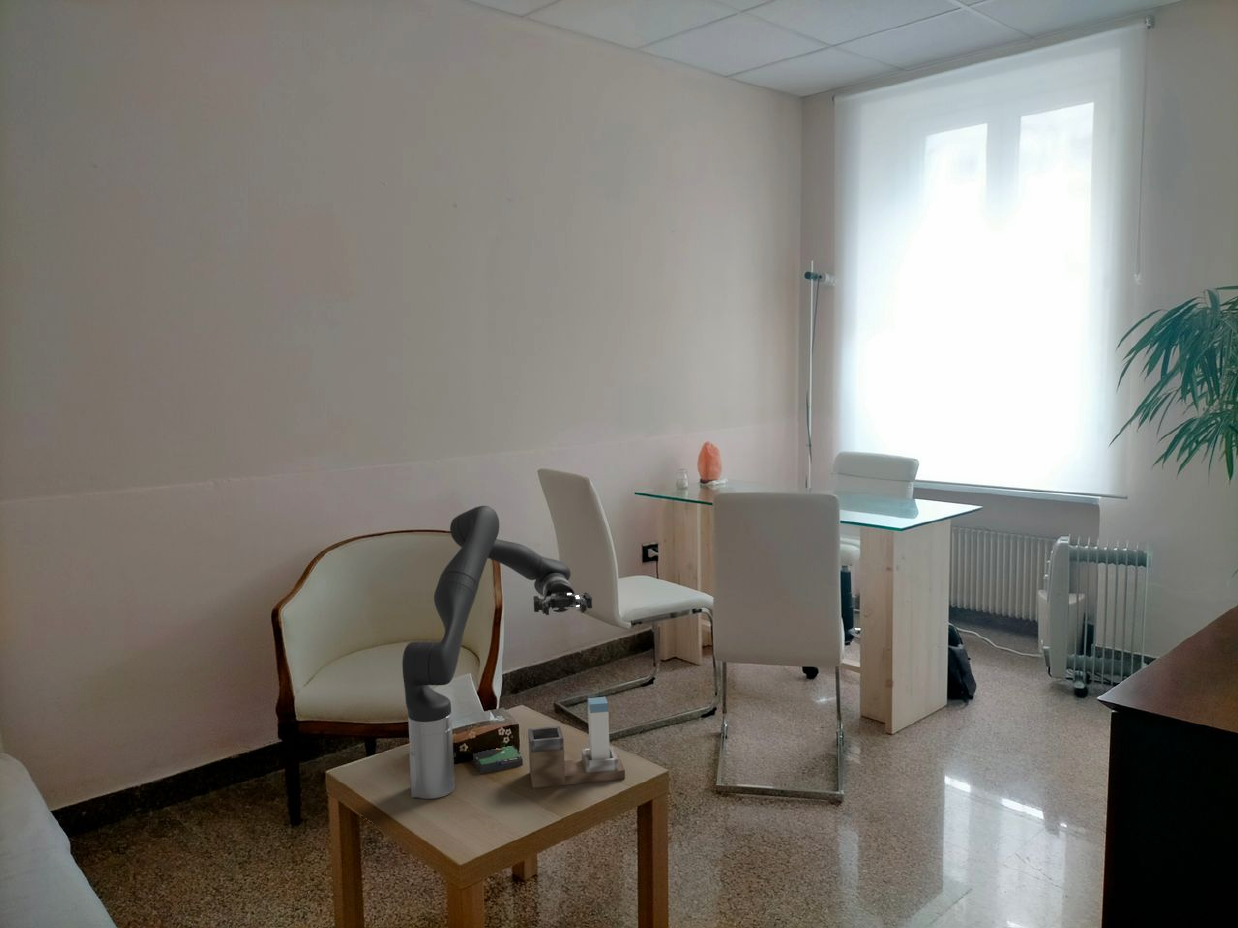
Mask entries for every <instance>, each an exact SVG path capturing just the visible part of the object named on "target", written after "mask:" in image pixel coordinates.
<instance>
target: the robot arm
mask: <svg viewBox="0 0 1238 928" xmlns="http://www.w3.org/2000/svg"><path fill="white" fill-rule="evenodd" d="M449 525H450V526H449V530H450V535H451V538H452V539H453V541H454V542H455V543H456V545H458V546H459V547H460V550H459V551H457V552H456V554H455V555H454V556H453V558H452V559H451V560H450V561H449V562H448V563H447V565H446V566H445V568H444V569H443V571H442V572H441V574H440V577H439V579H438V582H437V585H436V588H435V591H434V595H433V603H434V606H435V610H436V611H437V613H438V615H439V618H440V619H441V622H442V624H443V628H444V634H443V635H444V636H443V638H442V639H441V641H416V640H415V641H411V642H409V643H407V645H406V646H405V648H404V650H403V653H402V664H401V665H402V679H403V687H404V696H405V705H406V709H407V716H408V717H407V719H408V735H409V736H408V737H409V756H408V757H409V771H410V789H411V790H410V791H411V798H419V799H426V800H427V799H428V800H430V799H438V798H439V799H440V798H442V797H446V796H447V795H449V794H450V795H451V793H452V792H454V790H455V788H456V784H455V779H456V778H455V764H454V763H455V760H454V741H453V740H454V739H453V724H452V723H453V720H452V702H451V700H450V699H449V697H447V696H446V695H443V694H441V693H439V692H437V691H435V690H434V689H432V688H431V687H430V686H446V685H448V684H450V682H451V681H452V680H453V678H454V676H455V674H456V673H455V672H456V669H457V665H458V661H459V657H460V652H461V647H462V644H463V643H462V642H463V637H464V633H465V630H466V626H467V623H468V620H469V616H470V614H471V610H472V607H473V605H474V603H475V599H476V596H477V592H478V590H479V589H478V588H479V585H480V582H481V579H482V576H483V573H484V570H485V567H486V563H487V561H488V559H489V560H491V561H492V560H493V561H494V562H497V563H500V564H501V565H504V566H505V567H508V568H509V569H511V570H513V571H514V572H516V573H518V574H519V575H520V576H522V577H523V578H525V579H527V580H529V581H534V583H533V585H534V589H535V591H536V593H537V594H539V595H540V596H541V597H543V598H541V597H539V596H538V595H534V596H533V612H534V613H539V612H540V611H541V613H542V614H545V616H550V612H555V613H565V612H567V611H568V610H575V611H576V610H579V611H580V613H581V614H583V613H585V612H586V611H588V609H592V608H593V597H592V596H591V595H590V594H589V593H588V592H584V593H583V594H582V595H581V596H579V595H578V594H575V591H574V589H573V587H572V585H571V583H570V582H569V580H570V578H571V574H572V573H571V570H570V567H569V566H568V565H567V564H566V563H564V562H563V561H560V560H557V559H554V558H548V557H544V556H542V555H540V554H539V553H537V552H536V551H534V550H532V549H531V548H529V547H528V546H526V545H523V544H521V543H517V542H514V541H513V542H511V541H508V540H502V539H498V536H499V532H500V519H499V515H498V514H497V512H496V510H494V508H492V507H491V506H488V505H479V506H476V507H474V508H472V509H469V510H467V511H465V512H462V513H460V514H458V515H457V516H456V517H454V518H453V519H452V520H451V522H450V524H449Z"/></svg>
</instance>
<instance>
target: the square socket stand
mask: <svg viewBox="0 0 1238 928" xmlns="http://www.w3.org/2000/svg"><path fill="white" fill-rule="evenodd" d="M527 732H528V755H529V757H528V759H529V774H530V780H531V781H530V782H531V786H532V789H537V788H544V787H545V788H547V787H556V786H565V785H577V784H586V783H595V782H596V783H597V782H605V781H615V780H624V779H623V778H625V779H626V770H625V767H624V764H623V763H622V760H621V758H620V755H617V753H616V750H615V748H614V746H609V748H610V758H609V759H599V760H590V751H589V748H582V749H581V758H580V759H568V760H565V749H564V748H565V745H564V743H565V742H564V735H563V733H562V732H563V730H562V728H561V726H560V725H555V726H543V727H535V728H533V727H531V728H528V731H527Z"/></svg>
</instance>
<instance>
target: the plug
mask: <svg viewBox="0 0 1238 928" xmlns="http://www.w3.org/2000/svg"><path fill="white" fill-rule="evenodd" d="M587 711H588V712H587V714H588V715H587V716H588V744H589V745H588V746H589V747H588V749H589V751H590V760H599V759H609V758H610V748H609V747H610V723H609V721H610V719H609V702H608V699H607V698H606V696H599V697H589V698H588V697H587Z"/></svg>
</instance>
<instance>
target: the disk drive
mask: <svg viewBox="0 0 1238 928" xmlns="http://www.w3.org/2000/svg"><path fill="white" fill-rule="evenodd" d="M523 759H524V758H523V757H522V755H521V752H520V751H518V749H517V748H516V746H515V745H514V744H513V745H512V746H507V747H502V748H496V749H491V750H486V751H482V752H478V753H475V754H474V753H473V762H474V763H473V762H472V763H473V765H474V766H475V767H476V769H477V771H478V772H479V774H486V773H492V772H496V771H501V770H506V768H507V769H512V768H516V767H522V766H523V765H524V763H523V762H524V760H523ZM511 767H512V768H511Z"/></svg>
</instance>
